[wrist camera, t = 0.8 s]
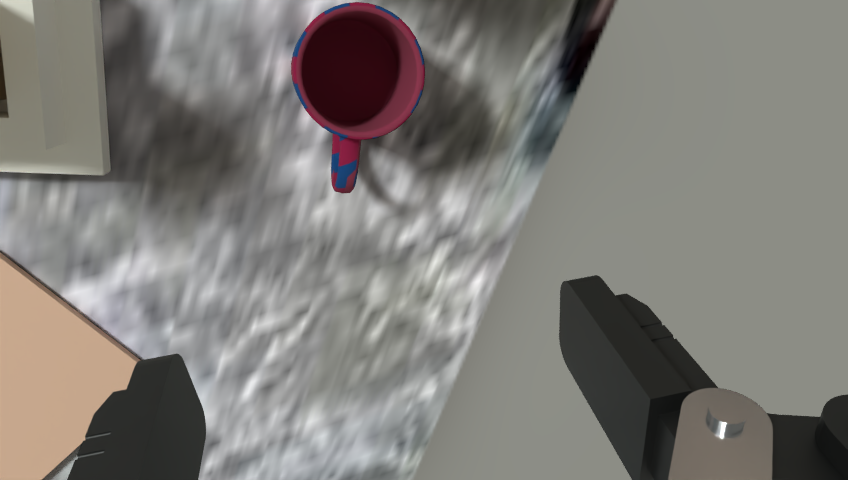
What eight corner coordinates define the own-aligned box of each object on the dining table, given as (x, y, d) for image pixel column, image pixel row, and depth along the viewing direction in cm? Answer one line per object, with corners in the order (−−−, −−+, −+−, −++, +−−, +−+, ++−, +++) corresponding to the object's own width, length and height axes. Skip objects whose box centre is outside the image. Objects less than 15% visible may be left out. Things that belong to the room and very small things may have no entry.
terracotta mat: (-154, 384, 35) (-159, 388, 34) (-6, 248, 35) (-10, 250, 34) (24, 492, 39) (21, 498, 39) (156, 372, 39) (155, 376, 38)
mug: (412, 31, 36) (439, 25, 30) (373, 187, 39) (391, 211, 32) (304, -2, 35) (309, -16, 28) (270, 164, 37) (267, 185, 30)
